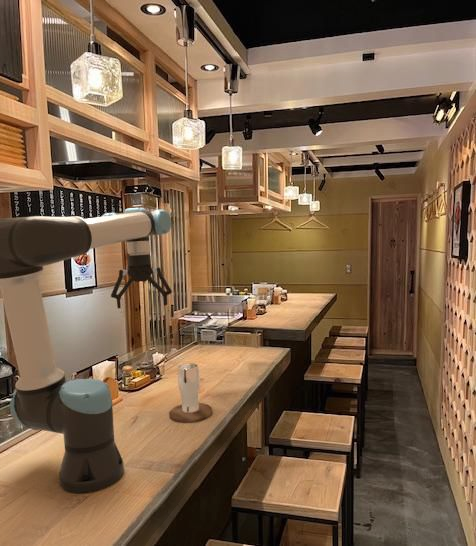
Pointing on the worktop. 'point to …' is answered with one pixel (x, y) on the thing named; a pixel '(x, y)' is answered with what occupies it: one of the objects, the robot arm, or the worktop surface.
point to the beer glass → (189, 387)
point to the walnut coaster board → (180, 417)
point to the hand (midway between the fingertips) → (143, 316)
